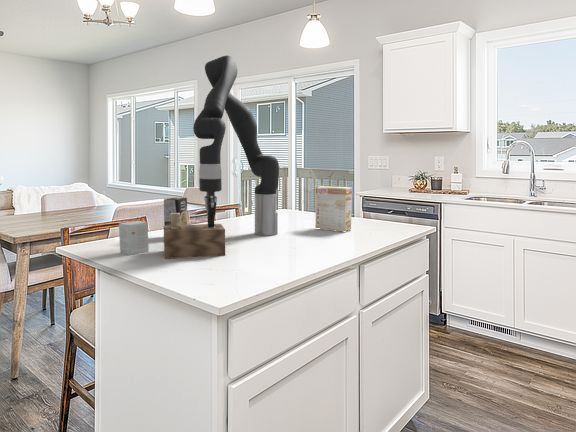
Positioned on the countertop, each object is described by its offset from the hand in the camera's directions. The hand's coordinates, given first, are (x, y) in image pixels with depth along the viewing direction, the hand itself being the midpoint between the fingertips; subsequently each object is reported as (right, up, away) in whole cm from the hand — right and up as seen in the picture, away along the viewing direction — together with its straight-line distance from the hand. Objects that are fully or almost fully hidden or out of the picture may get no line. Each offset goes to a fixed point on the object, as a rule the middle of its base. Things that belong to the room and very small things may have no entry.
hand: (211, 227), depth 159 cm
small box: (-27, -9, 0) cm, 28 cm away
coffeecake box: (+47, -3, +48) cm, 67 cm away
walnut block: (-6, -9, 0) cm, 11 cm away
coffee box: (-19, -5, +27) cm, 33 cm away
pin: (-12, -3, -3) cm, 12 cm away
